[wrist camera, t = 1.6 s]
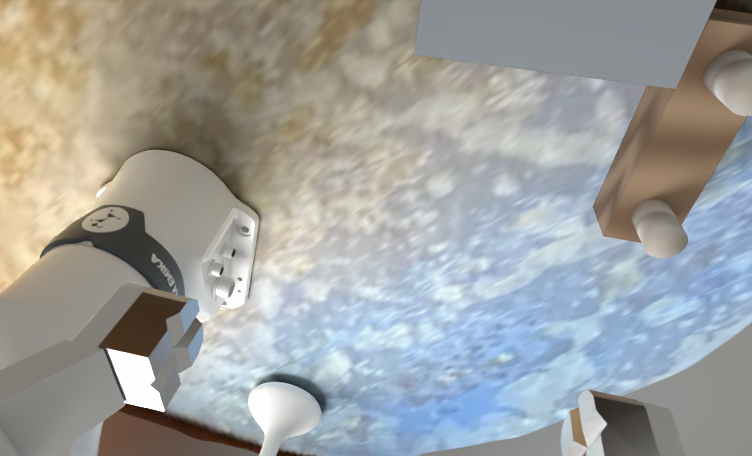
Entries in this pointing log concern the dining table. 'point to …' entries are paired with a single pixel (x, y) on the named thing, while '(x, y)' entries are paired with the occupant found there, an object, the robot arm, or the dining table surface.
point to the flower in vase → (282, 413)
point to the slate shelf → (568, 36)
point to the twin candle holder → (679, 139)
